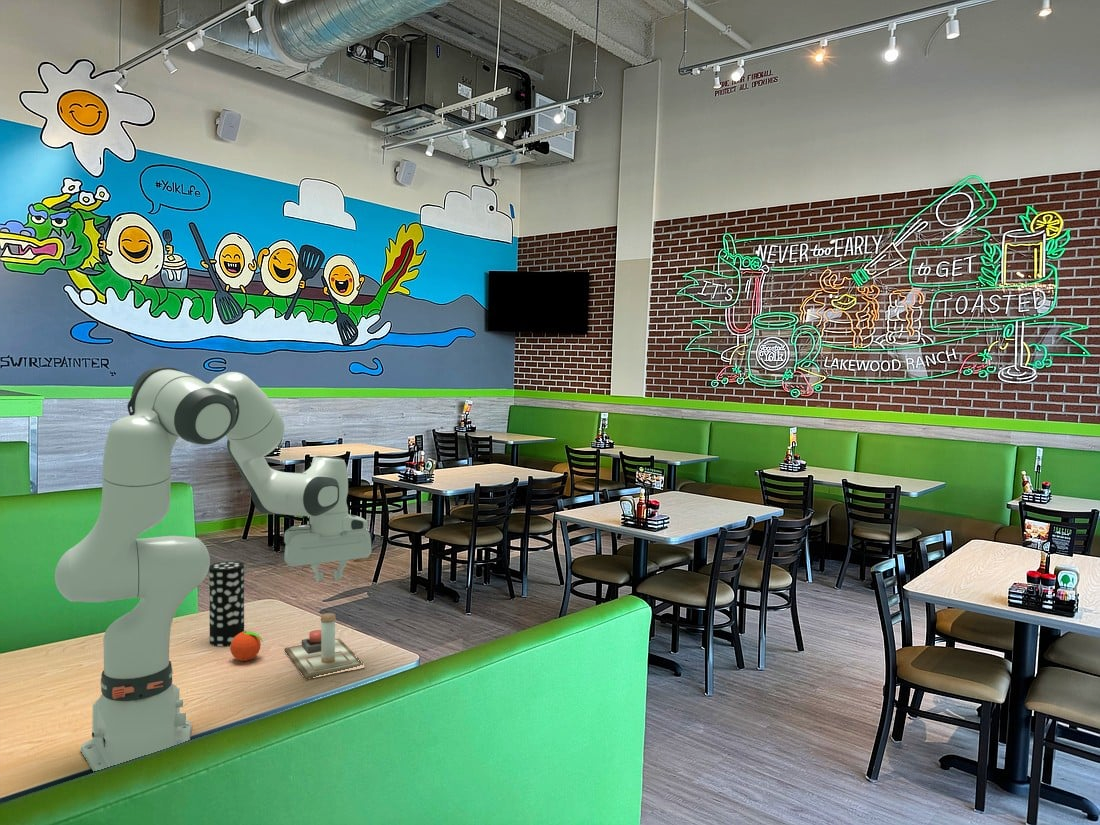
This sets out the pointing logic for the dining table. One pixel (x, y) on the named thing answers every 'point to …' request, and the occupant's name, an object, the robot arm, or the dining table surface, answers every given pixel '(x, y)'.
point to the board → (310, 658)
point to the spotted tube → (226, 601)
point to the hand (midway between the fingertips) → (328, 579)
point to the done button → (315, 636)
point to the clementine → (245, 645)
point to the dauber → (328, 637)
